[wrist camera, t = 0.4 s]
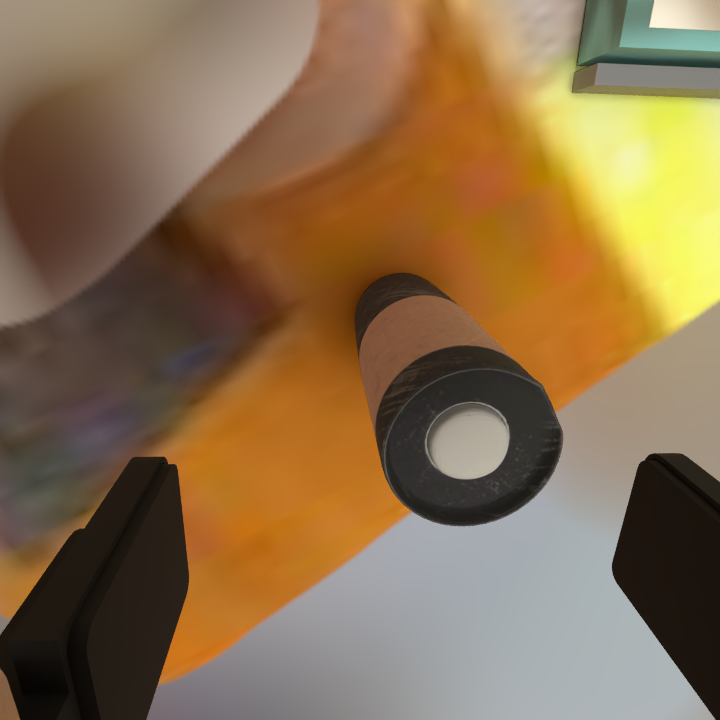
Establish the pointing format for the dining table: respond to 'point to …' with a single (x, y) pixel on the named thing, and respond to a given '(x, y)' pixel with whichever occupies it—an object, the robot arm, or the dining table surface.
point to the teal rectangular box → (651, 33)
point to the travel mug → (450, 407)
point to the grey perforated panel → (648, 80)
